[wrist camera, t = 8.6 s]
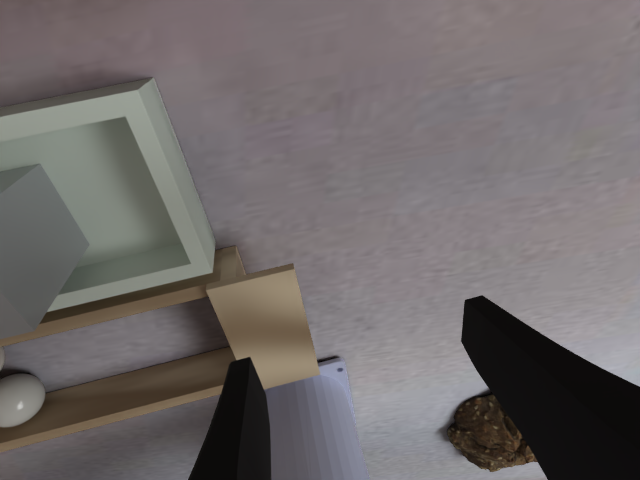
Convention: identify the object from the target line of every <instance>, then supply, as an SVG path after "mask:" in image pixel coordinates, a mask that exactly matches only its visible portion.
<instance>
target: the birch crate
mask: <svg viewBox="0 0 640 480" xmlns="http://www.w3.org/2000/svg"><path fill="white" fill-rule="evenodd" d="M208 296H209V299H210V301H211V303H212V305H213V308H214V310H215V312H216V315H217V317H218V319H219V321H220V324H221V326H222V328H223V331H224V333H225V335H226V337H227V340H228V342H229V344H230V347H226V348H222V349H218V350H214V351H211V352H207V353H203V354H199V355H195V356H191V357H187V358H183V359H179V360H175V361H171V362H167V363H163V364H160V365H156V366H152V367H148V368H144V369H140V370H136V371H132V372H128V373H124V374H120V375H116V376H112V377H108V378H105V379H101V380H97V381H93V382H89V383H85V384H81V385H77V386H73V387H69V388H65V389H61V390H57V391H54V392H50V393H46V394H45V400H44V403H43V405H42V407H41V408H40V410H39V411H38V412H37V413H36V414H35V415H34V416H33V417H32V418H31V419H29V420H28V421H26V422H24V423H22V424H20V425H17V426H13V427H5V428H3V427H0V452H4V451H7V450H11V449H15V448H19V447H22V446H26V445H30V444H34V443H38V442H41V441H45V440H49V439H53V438H56V437H60V436H64V435H68V434H72V433H75V432H79V431H83V430H87V429H91V428H94V427H98V426H102V425H106V424H109V423H113V422H117V421H121V420H125V419H128V418H132V417H136V416H140V415H144V414H147V413H151V412H155V411H159V410H162V409H166V408H170V407H174V406H178V405H181V404H185V403H189V402H193V401H196V400H200V399H204V398H208V397H212V396H215V395H219V394H221V392H222V389H223V385H224V382H225V378H226V374H227V371H228V367H229V364H230V363H231V362H232V361H236V360H240V359H243V358H247V357H251V360H252V362H253V364H254V367H255V369H256V372H257V374H258V376H259V379H260V381H261V384H262V386H263V388H264V389H268V388H272V387H275V386H279V385H283V384H287V383H290V382H294V381H298V380H302V379H306V378H309V377H313V376H317V375H320V371H319V367H318V363H317V359H316V355H315V351H314V346H313V342H312V338H311V334H310V330H309V326H308V322H307V318H306V314H305V310H304V306H303V302H302V298H301V294H300V289H299V285H298V281H297V277H296V273H295V269H294V265H293V263H292V264H288V265H284V266H280V267H275V268H271V269H267V270H263V271H259V272H255V273H250V274H246V273H245V270H244V267H243V264H242V261H241V258H240V255H239V253H238V250H237V247H236V246H232V247H228V248H223V249H219V250H215V254H214V264H213V273H209V274H205V275H201V276H196V277H192V278H188V279H184V280H180V281H175V282H171V283H167V284H163V285H159V286H154V287H150V288H146V289H142V290H138V291H133V292H129V293H125V294H121V295H117V296H112V297H108V298H104V299H100V300H96V301H91V302H87V303H83V304H79V305H75V306H70V307H66V308H62V309H58V310H54V311H50V312H46V314H45V315H44V317H43V319H42V320H41V322H40V323H39V325H38V326H37V328H36V329H35V331H33V332H28V333H24V334H20V335H16V336H12V337H7V338H3V339H0V347H2V346H6V345H11V344H15V343H19V342H23V341H27V340H31V339H35V338H39V337H43V336H48V335H52V334H56V333H60V332H64V331H68V330H72V329H76V328H80V327H85V326H89V325H93V324H97V323H101V322H105V321H109V320H113V319H117V318H122V317H126V316H130V315H134V314H138V313H142V312H146V311H150V310H155V309H159V308H163V307H167V306H171V305H175V304H179V303H183V302H187V301H192V300H196V299H200V298H204V297H208Z"/></svg>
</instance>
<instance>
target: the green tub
mask: <svg viewBox="0 0 640 480" xmlns="http://www.w3.org/2000/svg"><path fill="white" fill-rule="evenodd" d="M39 163H40V164H41V165H42V167H43V169H44V170H45V172H46V174H47V175H48V177H49V179H50V180H51V182H52V183H53V185H54V187H55V188H56V190H57V192H58V193H59V195H60V197H61V198H62V200H63V201H64V203H65V205H66V206H67V208H68V210H69V211H70V213H71V215H72V216H73V218H74V219H75V221H76V223H77V224H78V226H79V228H80V229H81V231H82V233H83V234H84V236H85V237H86V239H87V241H88V242H89V244H90V245H89V247H88V248H87V250H86V251H85V253H84V254H83V256H82V258H81V259H80V261H79V262H78V264H77V265H76V267H75V268H74V270H73V272H72V273H71V275H70V276H69V278H68V279H67V281H66V283H65V284H64V286H63V287H62V289H61V290H60V292H59V293H58V295H57V297H56V298H55V300H54V301H53V303H52V304H51V306H50V308H49V309H48V311H47V312H50V311H54V310H58V309H62V308H66V307H70V306H75V305H79V304H83V303H87V302H91V301H96V300H100V299H104V298H108V297H112V296H117V295H121V294H125V293H129V292H133V291H138V290H142V289H146V288H150V287H154V286H159V285H163V284H167V283H171V282H175V281H180V280H184V279H188V278H192V277H196V276H201V275H205V274H209V273H213V264H214V254H215V244H216V240H215V238H214V235H213V232H212V230H211V227H210V225H209V222H208V219H207V217H206V214H205V211H204V209H203V206H202V204H201V201H200V198H199V196H198V193H197V190H196V188H195V185H194V182H193V180H192V177H191V175H190V172H189V169H188V167H187V164H186V161H185V159H184V156H183V154H182V151H181V148H180V146H179V143H178V140H177V138H176V135H175V132H174V130H173V127H172V125H171V122H170V119H169V117H168V114H167V111H166V109H165V106H164V104H163V101H162V98H161V96H160V93H159V90H158V88H157V85H156V82H155V80H154V78H149V79H144V80H139V81H134V82H128V83H123V84H118V85H113V86H108V87H103V88H98V89H93V90H87V91H82V92H77V93H72V94H67V95H62V96H57V97H52V98H46V99H41V100H36V101H31V102H26V103H21V104H16V105H10V106H5V107H0V171H5V170H10V169H15V168H20V167H25V166H30V165H35V164H39Z"/></svg>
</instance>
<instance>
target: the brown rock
mask: <svg viewBox="0 0 640 480" xmlns="http://www.w3.org/2000/svg"><path fill="white" fill-rule="evenodd" d="M454 419H455V423H453V424H452V425H451V426H450V427H449V429H448V431H447V435H448V437H449V439H450V441H451V443H452V444H453V446H454V447H455V448H456V449H460V450H461V452H462V454H463V456H465V457H466V458H467V460H468V461H470V462H471V463H474V464H475V465H477V466H478V467H479V468H481V469H485V470H486V469H489V470H490V472H494V471H498V470H500V469H501V468H506V467H513V466H515V465H524V464H525V463H529V462H533V461H534V462H538V461H537V460H536V458H535V456H534V454H533V453H532V451H531V449H530V448H529V446H528V444H527V443H526V441H525V440H524V438H523V437H522V435H521V433H520V432H519V431H518V429H517V428H516V426H515V425H514V423H513V422H512V420H511V419H510V418H509V416H508V415H507V413H506V412H505V410H504V409H503V408H502V406H501V405H500V403H499V402H498V400H497V399H496V398H495V396H494V395H493V394H491V395H488V396H486V397H473V398H471V399H469V400H467V401H465V402H464V403H463V404H462V405H460V407H459V408H458V410H457V411H456V413H455V416H454Z"/></svg>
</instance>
